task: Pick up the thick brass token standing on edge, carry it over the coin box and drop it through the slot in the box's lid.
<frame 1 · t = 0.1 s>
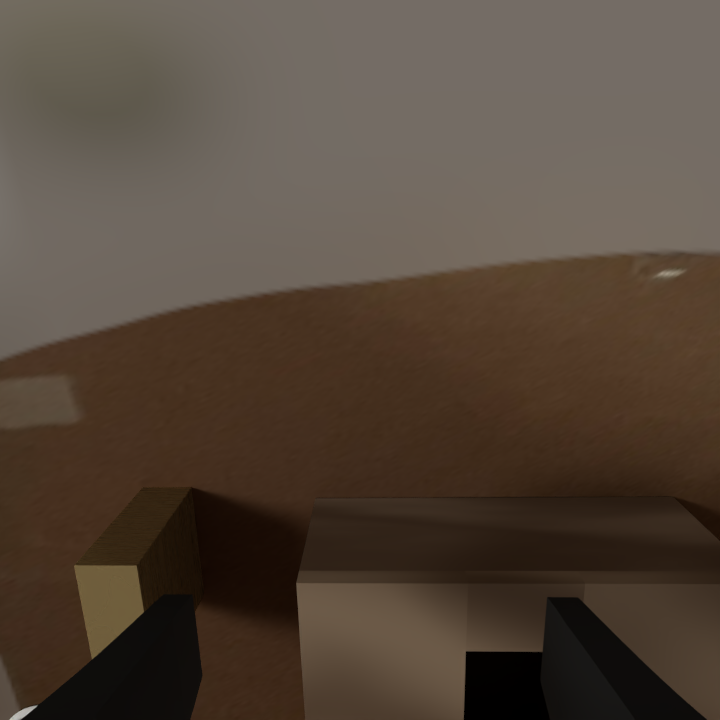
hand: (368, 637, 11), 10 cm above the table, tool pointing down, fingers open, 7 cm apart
coin box: (486, 624, 23), on the table
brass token: (174, 541, 22), on the table
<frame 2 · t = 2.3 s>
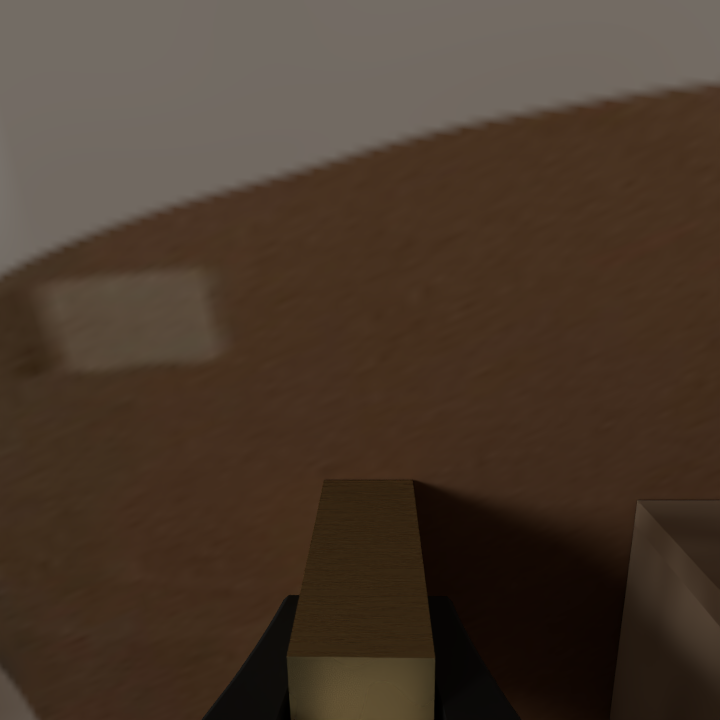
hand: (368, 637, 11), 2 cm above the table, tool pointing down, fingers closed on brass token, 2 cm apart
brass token: (369, 575, 13), on the table, touching gripper
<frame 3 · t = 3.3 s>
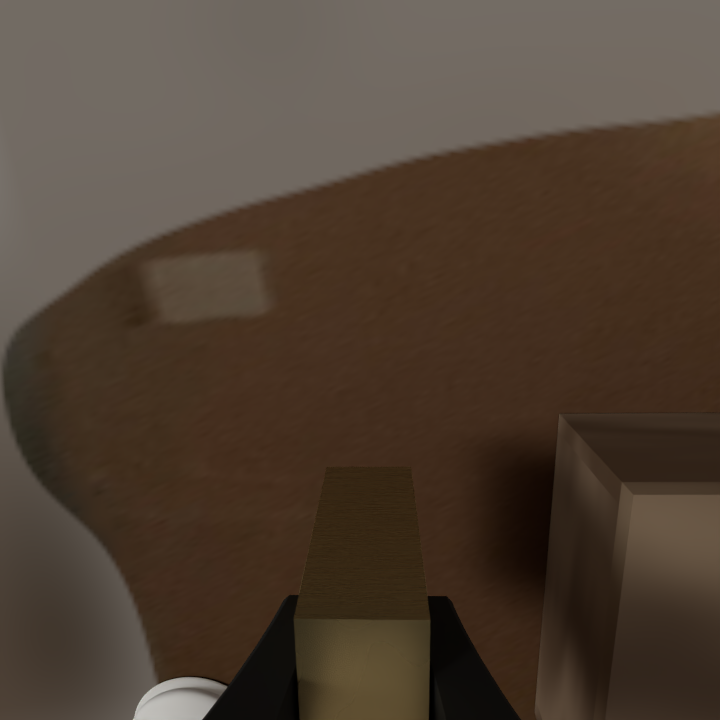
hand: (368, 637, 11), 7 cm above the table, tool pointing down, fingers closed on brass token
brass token: (370, 558, 13), point 5 cm above the table, touching gripper
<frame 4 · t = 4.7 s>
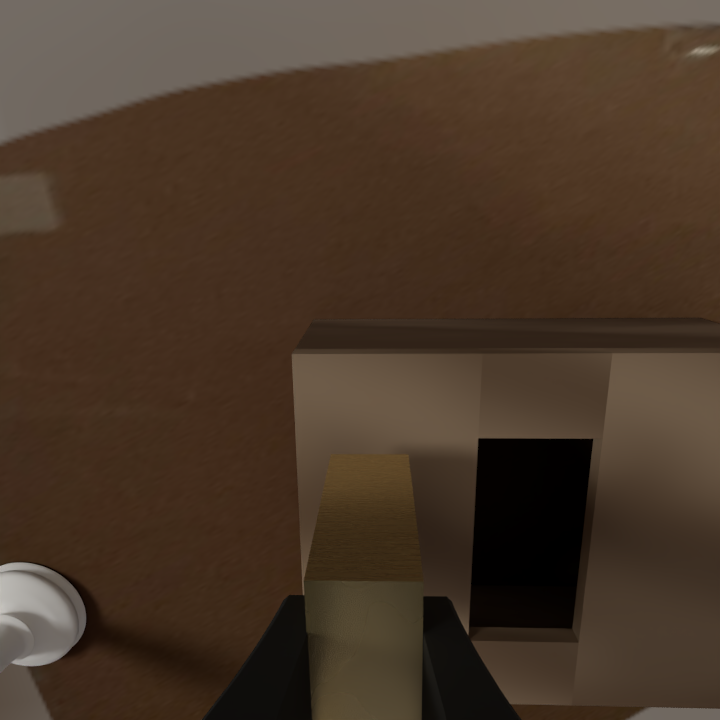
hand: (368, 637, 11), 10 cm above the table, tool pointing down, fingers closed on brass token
chess piece: (34, 606, 24), on the table
coin box: (495, 468, 21), on the table
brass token: (370, 539, 14), point 7 cm above the table, touching gripper
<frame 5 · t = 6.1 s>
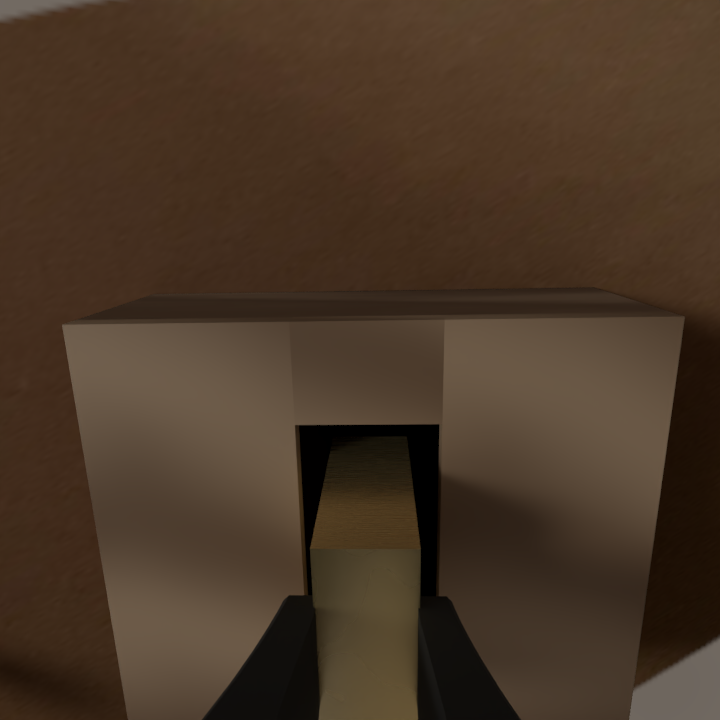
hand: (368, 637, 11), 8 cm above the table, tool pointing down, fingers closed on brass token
coin box: (372, 463, 18), on the table
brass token: (371, 517, 15), point 3 cm above the table, touching gripper
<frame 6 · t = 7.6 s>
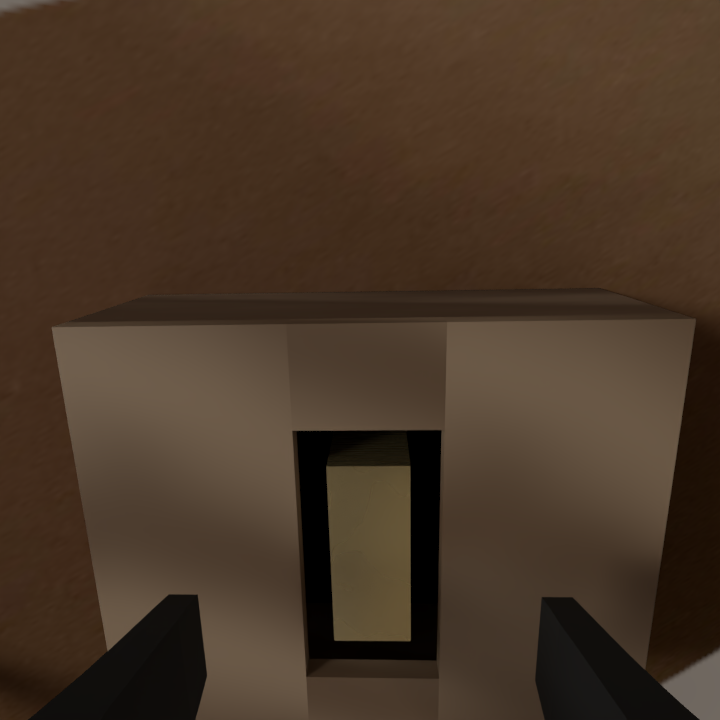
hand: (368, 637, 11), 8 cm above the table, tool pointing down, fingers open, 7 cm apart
coin box: (372, 468, 18), on the table
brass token: (373, 467, 18), resting in coin box
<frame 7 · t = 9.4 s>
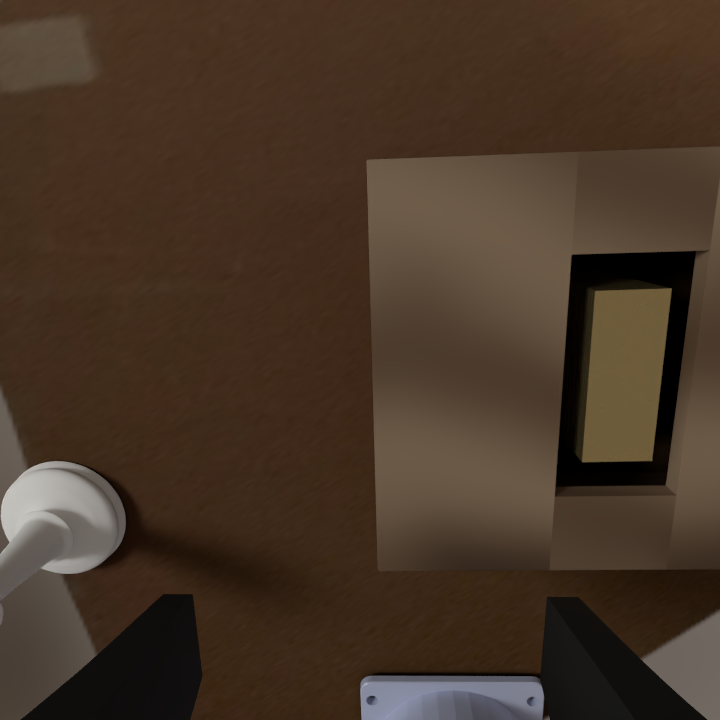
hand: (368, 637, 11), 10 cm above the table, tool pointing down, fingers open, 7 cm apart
chess piece: (70, 511, 22), on the table
coin box: (564, 340, 20), on the table
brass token: (564, 339, 20), resting in coin box
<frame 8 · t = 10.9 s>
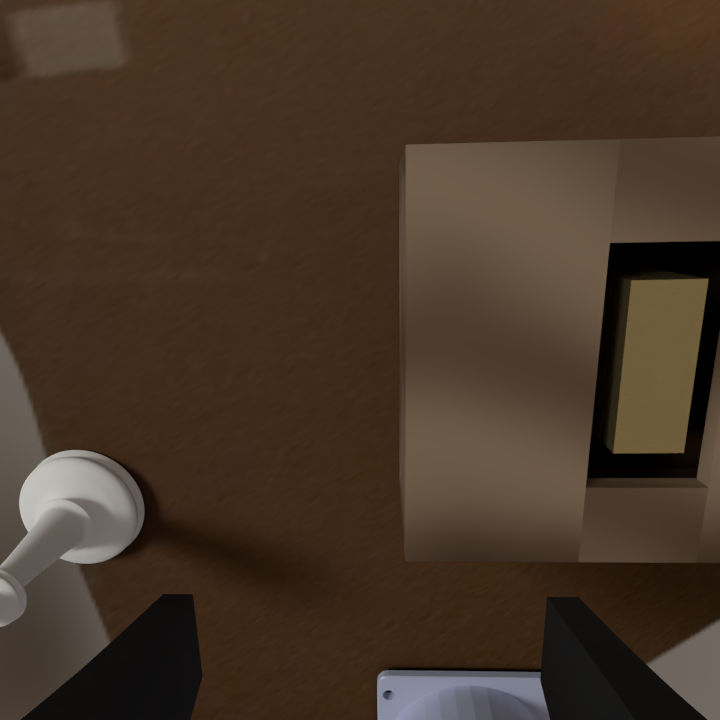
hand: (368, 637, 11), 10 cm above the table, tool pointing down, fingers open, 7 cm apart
chess piece: (89, 501, 22), on the table
coin box: (590, 333, 19), on the table
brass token: (589, 332, 20), resting in coin box
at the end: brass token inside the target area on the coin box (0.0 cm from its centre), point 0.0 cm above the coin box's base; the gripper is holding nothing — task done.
